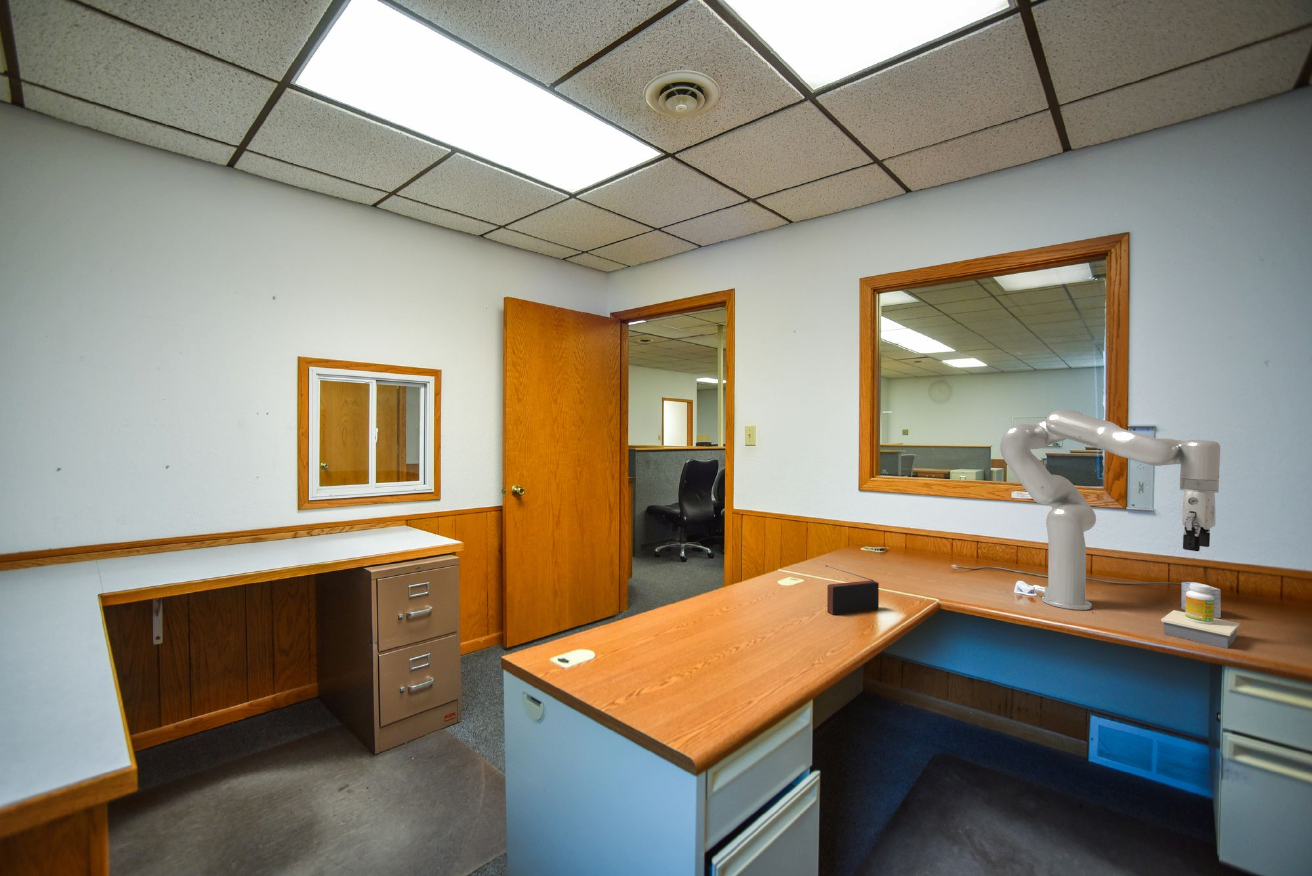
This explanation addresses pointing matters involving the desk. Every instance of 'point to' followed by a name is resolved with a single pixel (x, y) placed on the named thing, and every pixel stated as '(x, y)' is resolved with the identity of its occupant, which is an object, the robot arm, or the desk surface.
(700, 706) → the desk surface
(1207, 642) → the base block
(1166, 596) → the desk surface
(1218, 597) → the medicine box
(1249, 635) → the desk surface
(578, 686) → the desk surface
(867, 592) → the radio
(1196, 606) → the supplement bottle
